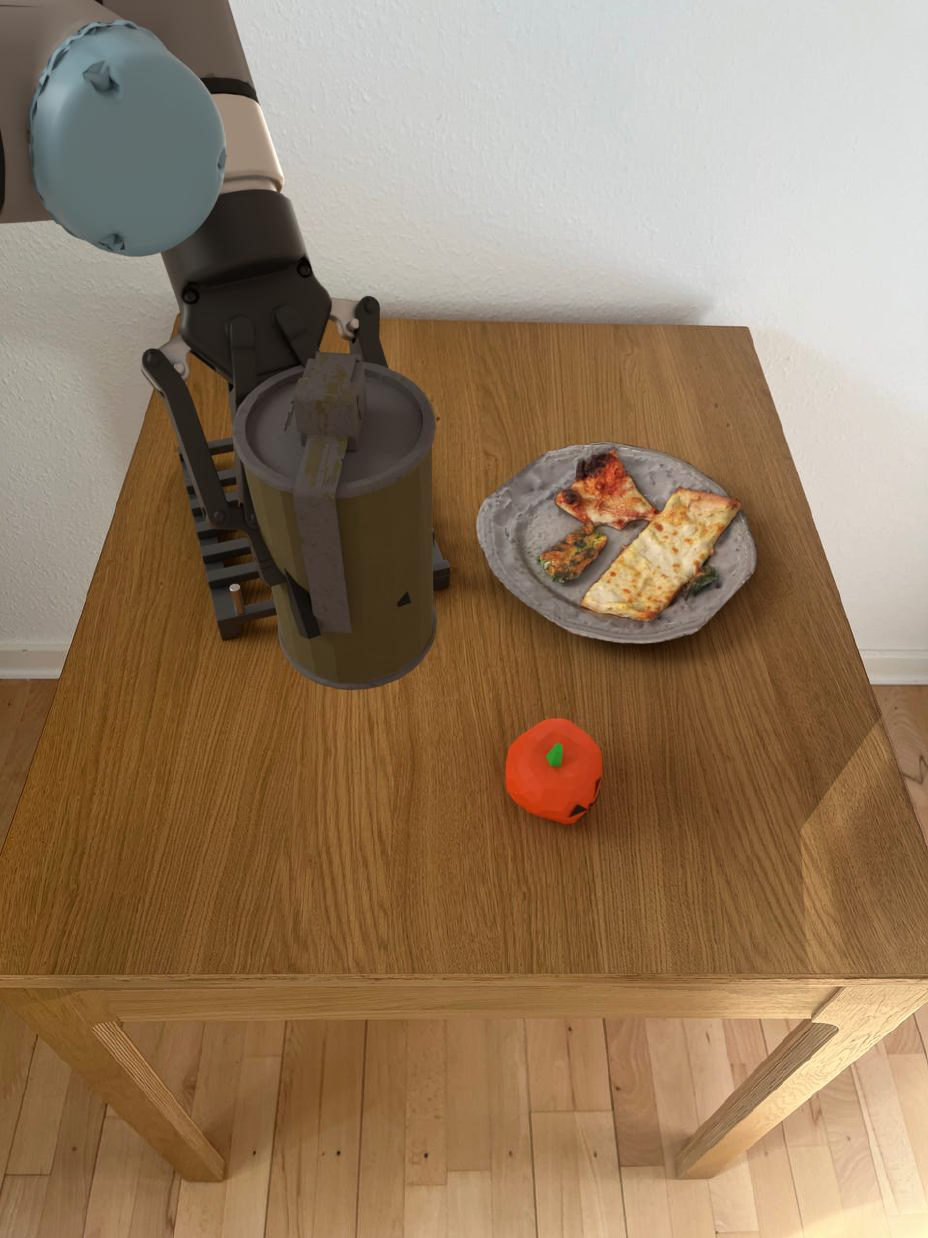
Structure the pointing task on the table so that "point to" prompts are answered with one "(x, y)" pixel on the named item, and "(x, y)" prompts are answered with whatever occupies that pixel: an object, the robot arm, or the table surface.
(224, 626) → the dish rack
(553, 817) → the pumpkin
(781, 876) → the table surface
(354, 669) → the canister
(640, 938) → the table surface
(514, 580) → the food plate
